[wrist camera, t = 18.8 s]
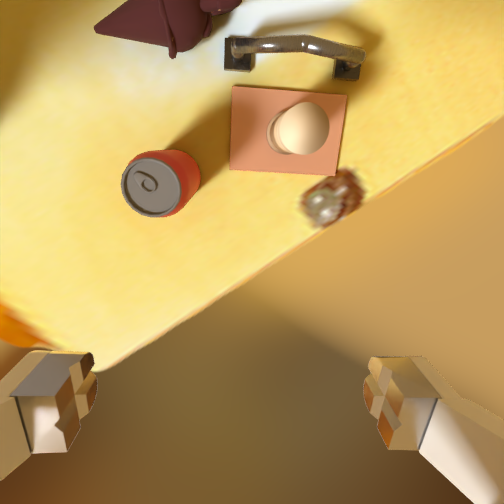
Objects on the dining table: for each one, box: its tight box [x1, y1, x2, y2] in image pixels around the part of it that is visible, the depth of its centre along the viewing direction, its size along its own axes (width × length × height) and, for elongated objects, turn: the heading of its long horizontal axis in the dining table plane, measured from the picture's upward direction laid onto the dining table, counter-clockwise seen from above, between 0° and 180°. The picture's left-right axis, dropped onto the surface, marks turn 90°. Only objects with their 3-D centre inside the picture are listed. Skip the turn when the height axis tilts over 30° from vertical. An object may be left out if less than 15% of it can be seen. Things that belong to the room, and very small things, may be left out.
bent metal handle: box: [224, 34, 366, 81], centre depth 31 cm, size 16×3×7 cm, turn 87°
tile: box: [230, 86, 347, 176], centre depth 37 cm, size 14×10×1 cm
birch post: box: [266, 102, 330, 155], centre depth 32 cm, size 5×5×11 cm
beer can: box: [121, 150, 201, 217], centre depth 33 cm, size 7×7×12 cm
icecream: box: [94, 0, 242, 59], centre depth 30 cm, size 7×7×15 cm
